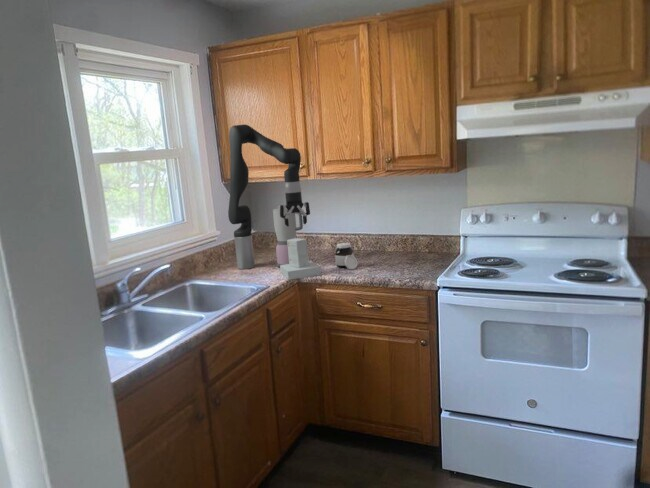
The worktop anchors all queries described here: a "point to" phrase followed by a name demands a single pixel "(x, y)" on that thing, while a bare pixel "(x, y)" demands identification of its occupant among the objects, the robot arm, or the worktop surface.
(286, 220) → the robot arm
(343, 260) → the spread jar
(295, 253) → the small box
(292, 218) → the blender
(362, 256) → the worktop surface
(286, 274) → the block
